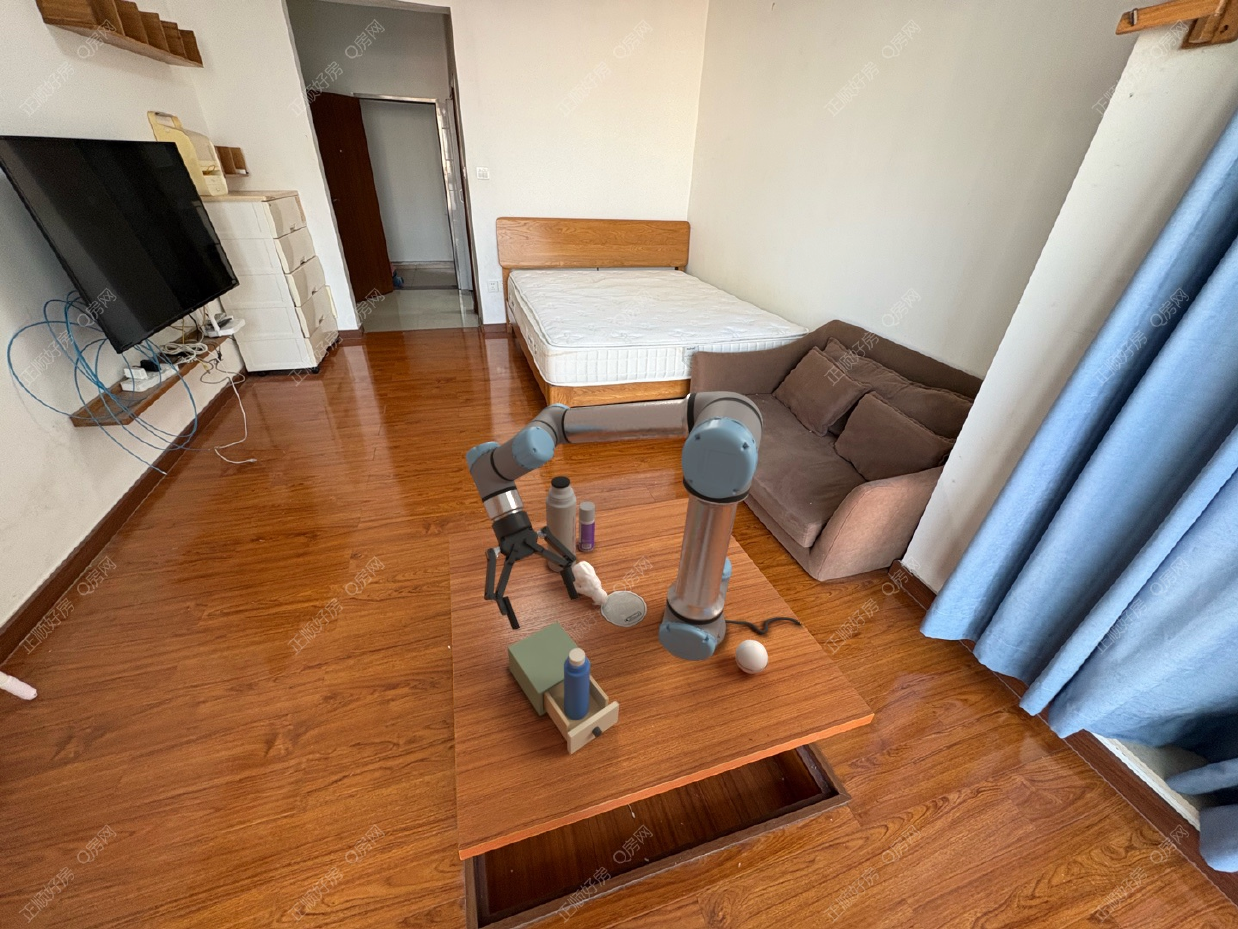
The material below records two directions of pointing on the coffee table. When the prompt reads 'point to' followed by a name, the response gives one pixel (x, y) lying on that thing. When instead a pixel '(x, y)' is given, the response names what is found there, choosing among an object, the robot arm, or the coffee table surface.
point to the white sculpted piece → (588, 583)
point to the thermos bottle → (561, 516)
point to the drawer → (587, 727)
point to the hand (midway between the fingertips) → (546, 613)
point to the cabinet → (540, 662)
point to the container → (586, 526)
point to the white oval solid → (751, 656)
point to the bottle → (576, 684)
